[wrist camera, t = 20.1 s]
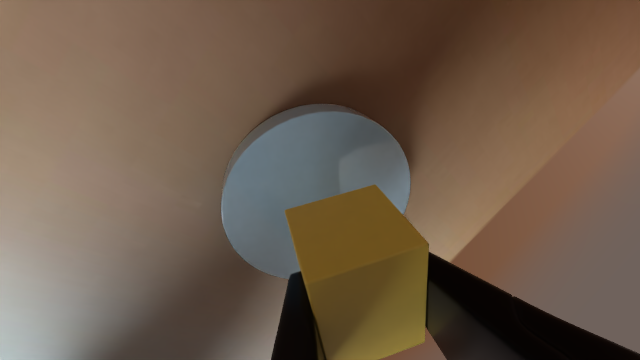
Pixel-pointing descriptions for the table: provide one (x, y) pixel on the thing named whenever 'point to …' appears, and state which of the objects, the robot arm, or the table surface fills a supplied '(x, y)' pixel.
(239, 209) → the plate
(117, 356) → the table surface
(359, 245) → the butter pat
